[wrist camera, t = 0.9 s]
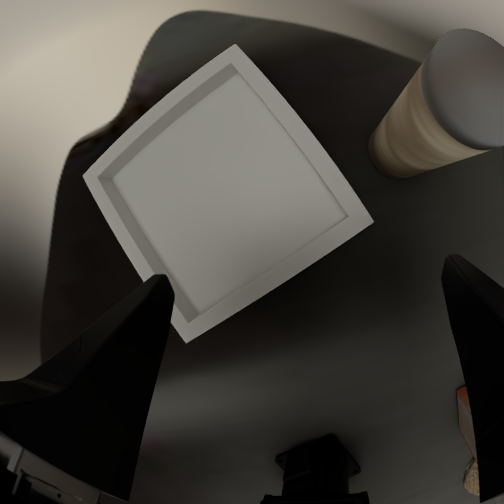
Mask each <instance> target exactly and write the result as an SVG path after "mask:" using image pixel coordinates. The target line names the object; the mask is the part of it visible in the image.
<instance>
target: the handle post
mask: <svg viewBox="0 0 504 504" xmlns="http://www.w3.org/2000/svg"><path fill="white" fill-rule="evenodd" d="M502 146H504V47H503V46H502V45H501V44H499V43H498V42H496V41H495V40H494V39H492V38H491V37H489V36H487V35H485V34H483V33H481V32H478V31H475V30H470V29H455V30H451V31H449V32H447V33H445V34H444V35H443V36H442V37H441V38H440V39H439V40H438V42H437V43H436V45H435V46H434V48H433V49H432V50H431V52H430V53H429V55H428V56H427V58H426V59H425V61H424V62H423V63H422V65H421V66H420V68H419V69H418V70H417V72H416V73H415V75H414V76H413V78H412V79H411V80H410V82H409V83H408V85H407V86H406V87H405V89H404V90H403V92H402V93H401V94H400V96H399V97H398V99H397V100H396V101H395V103H394V104H393V106H392V107H391V108H390V110H389V111H388V112H387V114H386V115H385V117H384V118H383V119H382V121H381V122H380V124H379V125H378V126H377V128H376V129H375V130H374V132H373V133H372V135H371V137H370V139H369V143H368V153H369V157H370V160H371V162H372V164H373V165H374V167H375V168H376V169H377V170H378V171H379V172H380V173H381V174H383V175H384V176H386V177H388V178H391V179H397V180H400V179H406V178H409V177H412V176H415V175H417V174H420V173H423V172H426V171H429V170H432V169H435V168H438V167H441V166H444V165H447V164H450V163H453V162H456V161H459V160H462V159H465V158H468V157H471V156H474V155H477V154H480V153H483V152H486V151H489V150H492V149H496V148H499V147H502Z"/></svg>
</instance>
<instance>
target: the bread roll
mask: <svg viewBox="0 0 504 504" xmlns="http://www.w3.org/2000/svg"><path fill="white" fill-rule="evenodd" d="M465 469H466V476H465V482H464V486H465V489H467V490H468V492H470V493H472V494H475V495H479V476H478V464H477V462H476V460H475V458H473V459H472V461H471V462H470V463H469V465H468V466H467V467H466V468H465Z"/></svg>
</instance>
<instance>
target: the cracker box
mask: <svg viewBox="0 0 504 504" xmlns="http://www.w3.org/2000/svg"><path fill="white" fill-rule="evenodd" d="M457 403H458V416H459V430H460V432H461V433H462V435H463V437H464V439H465V441H466V443H467V445H468V447H469V448H470V450H471V453H472V455H473V456H474V458H475V460H476V462H477V454H476V445H475V443H476V442H475V436H474V429H473V422H472V416H471V410H470V405H469V399H468V394H467V389H466V386H464V387H462V388H460V389H458V390H457ZM494 499H495V501H496V504H504V495H501V496H499V497H496V498H494Z"/></svg>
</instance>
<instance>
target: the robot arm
mask: <svg viewBox="0 0 504 504" xmlns="http://www.w3.org/2000/svg"><path fill="white" fill-rule="evenodd" d="M441 281H442V287H443V291H444V296H445V300H446V305H447V310H448V316H449V321H450V325H451V329H452V332H453V336H454V339H455V343H456V347H457V351H458V355H459V359H460V363H461V367H462V371H463V375H464V380H465V385H466V389H467V394H468V399H469V405H470V410H471V416H472V422H473V429H474V436H475V442H476V443H475V445H476V454H477V464H478V476H479V495H480V503H483V502H485V501H488V500H491V499H494V498H496V497H499V496H501V495H504V288H503V287H501V286H500V285H499V284H498V283H496V282H495V281H494V280H492V279H491V278H490V277H489V276H487V275H486V274H485V273H483V272H482V271H481V270H479V269H478V268H477V267H475V266H474V265H473V264H471V263H470V262H468V261H467V260H466V259H464V258H463V257H462V256H460V255H458V254H454V255H448V256H447V257H446V259H445V263H444V267H443V271H442V276H441ZM174 301H175V293H174V290H173V288H172V285H171V283H170V281H169V279H168V276H167V275H166V274H154V275H152V276H151V277H150V278H149V279H147V280H146V281H145V282H144V283H142V284H141V285H140V286H139V287H137V288H136V289H135V290H134V291H132V292H131V293H130V294H129V295H127V296H126V297H125V298H124V299H122V300H121V301H120V302H119V303H118V304H116V305H115V306H114V307H113V308H111V309H110V310H109V311H108V312H107V313H105V314H104V315H103V316H102V317H100V318H99V319H98V320H97V321H96V322H94V323H93V324H92V325H91V326H90V327H88V328H87V329H86V330H85V331H84V332H82V334H80V335H79V336H78V337H76V338H75V339H74V340H73V341H72V342H71V343H69V344H68V345H67V346H66V347H64V348H63V349H62V350H61V351H59V352H58V353H57V354H55V355H54V356H53V357H51V358H50V359H49V360H47V361H46V362H45V363H43V364H42V365H41V366H39V367H38V368H37V369H35V370H34V371H33V372H32V373H30V374H29V375H27V376H25V377H23V378H21V379H18V380H13V381H0V504H101V503H99V499H100V496H101V493H104V494H106V495H109V496H112V497H115V498H117V499H120V500H123V501H126V502H128V501H129V498H130V493H131V488H132V483H133V478H134V473H135V469H136V464H137V459H138V455H139V450H140V445H141V441H142V437H143V432H144V428H145V424H146V420H147V416H148V411H149V407H150V403H151V399H152V395H153V392H154V388H155V384H156V380H157V376H158V372H159V369H160V365H161V361H162V358H163V354H164V350H165V347H166V343H167V339H168V335H169V330H170V324H171V318H172V312H173V306H174ZM329 439H332V440H329ZM279 459H282V460H279ZM275 462H276V463H277V464H278V465H279V466H280V467H281V468H282V469H283V470H284V475H283V481H284V484H283V489H282V495H281V496H272V495H266V494H265V496H264V498H263V501H261V502H260V504H370V502H369V498H368V493H367V491H364V492H361V493H354V494H349V480H348V478H349V477H352V476H354V475H356V474H359V473H360V472H361V468H360V466H359V465H358V464H357V463H356V461H355V460H354V459H353V458H352V456H351V455H350V454H349V453H348V451H347V450H346V449H345V448H344V446H343V445H342V444H341V442H340V441H339V440H338V439H337V437H336V436H335V435H333V434H329V435H327V436H324V437H322V438H320V439H317V440H315V441H313V442H310V443H307V444H305V445H303V446H300V447H298V448H295V449H292V450H290V451H288V452H285V453H282V454H280V455H277V456H276V458H275Z"/></svg>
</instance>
